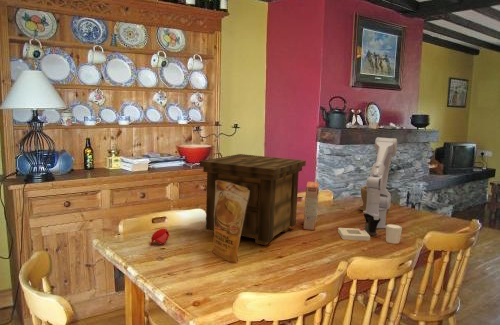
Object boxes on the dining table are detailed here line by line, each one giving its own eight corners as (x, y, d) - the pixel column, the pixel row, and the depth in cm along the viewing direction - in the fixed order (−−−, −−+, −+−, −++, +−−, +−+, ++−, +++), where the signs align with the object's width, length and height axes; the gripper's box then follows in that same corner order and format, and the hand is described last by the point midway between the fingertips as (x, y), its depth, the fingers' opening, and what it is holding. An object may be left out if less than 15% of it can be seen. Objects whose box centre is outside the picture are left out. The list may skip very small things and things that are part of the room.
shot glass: (390, 244, 172) (391, 228, 171) (381, 239, 179) (382, 224, 178) (404, 243, 174) (405, 228, 173) (394, 238, 181) (395, 223, 180)
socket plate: (337, 231, 187) (338, 226, 187) (363, 233, 187) (364, 227, 187) (342, 239, 177) (343, 233, 176) (370, 240, 176) (370, 235, 176)
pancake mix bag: (220, 246, 162) (222, 178, 158) (249, 262, 147) (251, 187, 143) (205, 249, 158) (207, 179, 154) (234, 265, 143) (236, 188, 139)
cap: (170, 232, 167) (157, 225, 166) (172, 231, 162) (159, 224, 161) (160, 249, 165) (147, 242, 163) (162, 249, 159) (149, 242, 158)
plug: (365, 232, 189) (365, 222, 188) (373, 232, 189) (374, 222, 188) (367, 235, 185) (368, 224, 184) (375, 235, 185) (376, 224, 184)
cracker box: (315, 230, 188) (318, 187, 185) (302, 229, 189) (305, 186, 186) (317, 222, 201) (319, 181, 198) (304, 221, 203) (307, 180, 200)
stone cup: (354, 211, 227) (356, 185, 225) (364, 207, 236) (366, 182, 234) (380, 216, 218) (382, 189, 215) (389, 213, 226) (391, 186, 224)
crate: (301, 228, 190) (305, 160, 186) (270, 250, 159) (274, 169, 155) (237, 217, 206) (239, 154, 202) (198, 234, 176) (199, 161, 171)
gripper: (360, 198, 192) (358, 225, 194) (368, 205, 177) (366, 235, 179) (375, 198, 192) (372, 226, 194) (384, 206, 177) (381, 235, 179)
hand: (370, 230), depth 186 cm, fingers open, 4 cm apart
